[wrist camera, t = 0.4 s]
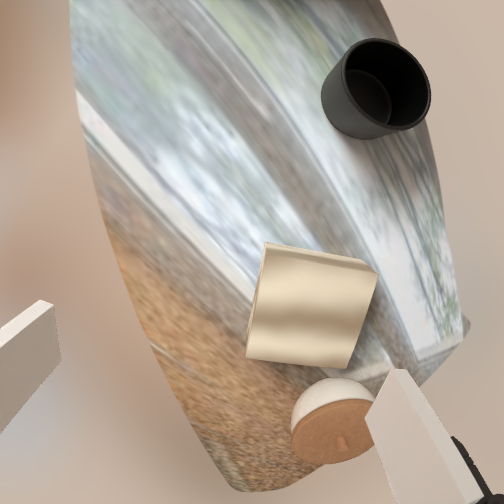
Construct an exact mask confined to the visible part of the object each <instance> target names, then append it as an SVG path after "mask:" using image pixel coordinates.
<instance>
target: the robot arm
mask: <svg viewBox="0 0 504 504" xmlns="http://www.w3.org/2000/svg"><path fill="white" fill-rule="evenodd" d="M60 362H61V355H60V349H59V343H58V335H57V328H56V319H55V309H54V305H53V304H50V303H47V302H45V301H42V300H39V301H38V302H37V303H35V304H33V305H32V306H31V307H29V308H28V309H26V310H25V311H24V312H22V313H21V314H19V315H18V316H17V317H15V318H14V319H13V320H11V321H10V322H9V323H7V324H6V325H4V326H3V327H2V328H1V329H0V434H1V433H2V431H3V430H4V429H5V428H6V426H7V425H8V424H9V422H10V421H11V420H12V419H13V417H14V416H15V415H16V414H17V413H18V411H19V410H20V409H21V408H22V406H23V405H24V404H25V403H26V402H27V400H28V399H29V398H30V397H31V396H32V394H33V393H34V392H35V391H36V390H37V388H38V387H39V386H40V385H41V384H42V383H43V381H44V380H45V379H46V378H47V377H48V376H49V375H50V374H51V372H52V371H53V370H54V369H55V368H56V367H57V366H58V365H59V363H60ZM365 421H366V423H367V426H368V429H369V431H370V434H371V436H372V439H373V442H374V444H375V447H376V449H377V452H378V454H379V457H380V460H381V462H382V465H383V468H384V471H385V474H386V476H387V479H388V482H389V485H390V487H391V490H392V493H393V496H394V499H395V502H396V504H504V495H503V494H496V495H493V494H492V493H491V491H490V490H489V488H488V486H487V484H486V483H485V481H484V479H483V477H482V476H481V474H480V472H479V471H478V469H477V467H476V465H473V463H474V462H473V460H472V459H471V457H469V454H468V452H467V451H466V449H465V447H464V446H463V444H462V443H460V442H459V441H458V440H457V439H456V438H455V437H454V436H452V437H450V436H449V434H448V433H447V431H446V429H445V428H444V426H443V425H442V423H441V421H440V420H439V418H438V417H437V415H436V414H435V412H434V410H433V409H432V407H431V406H430V404H429V403H428V401H427V400H426V398H425V397H424V395H423V394H422V392H421V391H420V389H419V388H418V386H417V385H416V383H415V382H414V380H413V379H412V377H411V376H410V374H409V373H408V371H407V370H406V369H390V371H389V373H388V376H387V378H386V380H385V381H384V383H383V385H382V387H381V389H380V391H379V393H378V395H377V397H376V399H375V401H374V402H373V404H372V406H371V408H370V410H369V411H368V413H367V415H366V417H365Z"/></svg>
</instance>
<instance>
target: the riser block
mask: <svg viewBox="0 0 504 504" xmlns="http://www.w3.org/2000/svg"><path fill="white" fill-rule="evenodd" d="M378 275H379V274H378V273H377V272H375V271H374V270H373V269H372V268H371V267H369V266H368V265H367V264H366V263H365V262H363V261H362V260H360V259H355V258H350V257H345V256H339V255H334V254H329V253H323V252H318V251H313V250H307V249H302V248H297V247H291V246H286V245H280V244H275V243H269V242H265V244H264V249H263V254H262V260H261V265H260V270H259V275H258V280H257V285H256V290H255V295H254V299H253V304H252V309H251V314H250V319H249V324H248V329H247V337H246V358H252V359H258V360H265V361H273V362H281V363H289V364H297V365H307V366H317V367H328V368H341V369H346V368H347V365H348V363H349V360H350V358H351V355H352V352H353V350H354V347H355V345H356V342H357V339H358V336H359V334H360V331H361V328H362V325H363V322H364V319H365V317H366V314H367V311H368V308H369V305H370V301H371V298H372V295H373V292H374V289H375V285H376V282H377V279H378Z"/></svg>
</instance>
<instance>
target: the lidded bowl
mask: <svg viewBox="0 0 504 504" xmlns="http://www.w3.org/2000/svg"><path fill="white" fill-rule="evenodd" d="M374 401H375V398H374V397H373V395H372V394H371V393H370V391H369V390H368V389H367V388H365V387H364V386H363V385H362V384H360V383H358V382H356V381H354V380H351V379H348V378H336V377H331V378H325V379H322V380H319V381H317V382H316V383H314V384H313V385H311V386H310V387H309V388H308V389H306V390H305V391H304V392H303V393H302V395H301V396H300V397H299V398H298V400H297V402H296V404H295V406H294V408H293V411H292V416H291V445H292V449H293V451H294V453H295V454H296V455H297V456H298V457H299V458H301V459H302V460H304V461H306V462H310V463H314V464H333V463H339V462H343V461H347V460H349V459H352V458H355V457H357V456H359V455H361V454H362V453H364V452H366V451H367V450H368V449H370V448H371V447H372V446H373V445H374V442H373V439H372V436H371V434H370V431H369V429H368V426H367V423H366V421H365V417H366V415H367V413H368V411H369V410H370V408H371V406H372V404H373V402H374Z"/></svg>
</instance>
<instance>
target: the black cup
mask: <svg viewBox="0 0 504 504" xmlns="http://www.w3.org/2000/svg"><path fill="white" fill-rule="evenodd" d="M321 101H322V105H323V109H324V111H325V113H326V115H327V117H328V119H329V120H330V121H331V123H332V124H333V125H334V126H335V127H336V128H337V129H338V130H340V131H341V132H342V133H344V134H346V135H348V136H350V137H353V138H357V139H365V140H366V139H373V138H377V137H381V136H384V135H388V134H392V133H396V132H399V131H403V130H407V129H410V128H413V127H414V126H416V125H418V124H419V123H420V122H421V121H422V120H423V119H424V118H425V116H426V114H427V112H428V110H429V107H430V103H431V89H430V84H429V80H428V77H427V75H426V73H425V71H424V69H423V68H422V66H421V64H419V62H418V61H417V59H416V58H415V57H414V56H413V55H412V54H411V53H410V52H408V51H407V50H406V49H404V48H403V47H401V46H400V45H398V44H396V43H394V42H391V41H388V40H384V39H377V38H371V39H365V40H362V41H359V42H357V43H356V44H354V45H353V46H351V47H350V48H349V49H348V51H347V52H346V53H345V54H344V56H343V57H342V58H341V59H340V61H339V62H338V63H337V65H336V66H335V67H334V69H333V70H332V71H331V72H330V74H329V75H328V76H327V78H326V79H325V81H324V83H323V86H322V91H321Z"/></svg>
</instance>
